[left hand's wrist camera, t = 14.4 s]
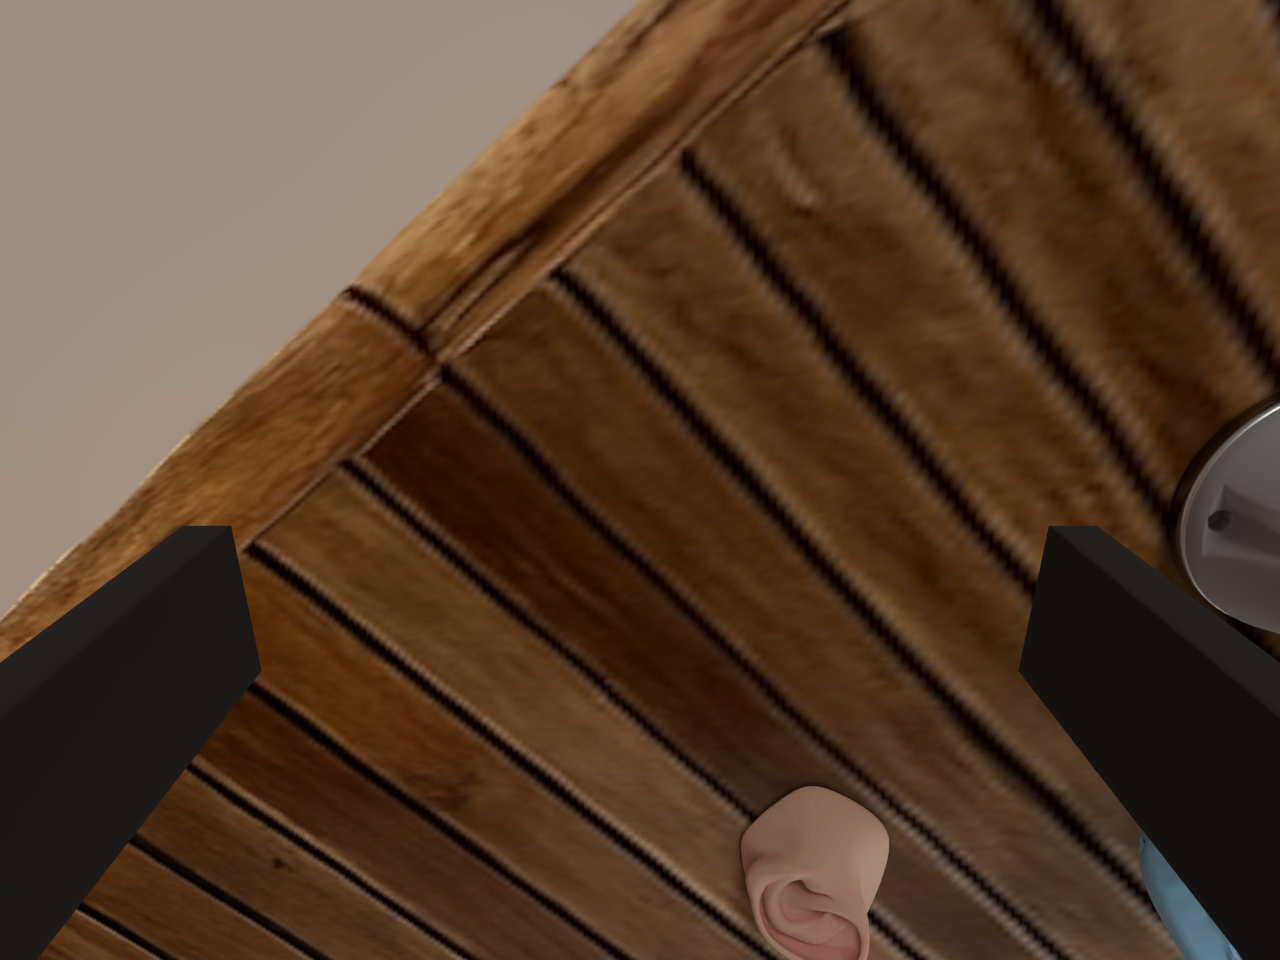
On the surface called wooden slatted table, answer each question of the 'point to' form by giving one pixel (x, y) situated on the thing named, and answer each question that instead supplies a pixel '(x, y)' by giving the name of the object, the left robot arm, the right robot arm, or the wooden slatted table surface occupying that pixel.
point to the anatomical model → (814, 874)
